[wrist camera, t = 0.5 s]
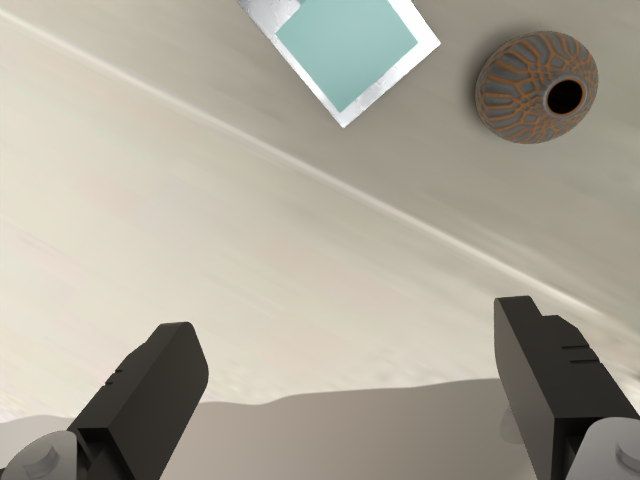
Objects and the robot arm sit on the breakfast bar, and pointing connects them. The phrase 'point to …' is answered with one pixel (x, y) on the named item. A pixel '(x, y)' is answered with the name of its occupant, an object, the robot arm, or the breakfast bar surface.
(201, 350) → the robot arm
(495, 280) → the breakfast bar surface
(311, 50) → the teal block with handle
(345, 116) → the post
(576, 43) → the vase
